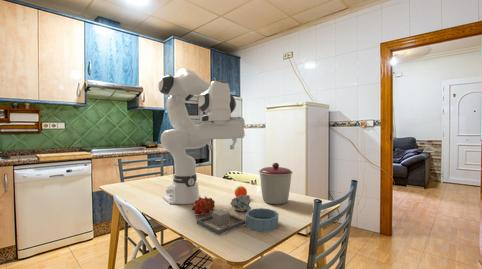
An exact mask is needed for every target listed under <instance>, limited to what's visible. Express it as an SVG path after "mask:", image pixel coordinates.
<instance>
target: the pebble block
mask: <svg viewBox="0 0 482 269" xmlns="http://www.w3.org/2000/svg"><path fill="white" fill-rule="evenodd" d="M230 214H231V213H230V211H228V210H227V211H226V210H224V209H219V210H214V211H212V215H213V219H212V225H214V226H216V227H218V228H219V229H221V228H224V227H227V226H229V225H231V224H230V220H231V219H230Z"/></svg>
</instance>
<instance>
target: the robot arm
mask: <svg viewBox="0 0 482 269" xmlns="http://www.w3.org/2000/svg"><path fill="white" fill-rule="evenodd" d="M157 84H158V91H159V92H160V93H161V94H163V95H166V96H167V95H168V96H169V97H168V98H167V99H166V111H167V112H166V114H167V115H168V119H169V123H170V126H171V127H173V128H172V129H166V130H164V131H163V132H162V133H161V135H160V144H161V146H162V147H163V148H164V149H165V150H167V151H168V153H169V154H170V155H171V156H172V159H173V163H174V164H173V165H174V174H173V175H172V178H173V179H172V182H171V183H170V184H169V185H168V186H167V188H166V190H165V192H166V194H163V195H162V198H163V199H164V200H165V202H167V203H168V204H169V205H188V204H193V203H194V204H195V201H197V200H199V198H201V195H200V194H199V193H200V192H199V184H198V182H197V180H198V179H197V178H198V175H197V172H196V170H197V167H196V166H197V165H196V164H197V163H196V160H195V158H194V157H193V156H191V155H189V154H187V152H186V150H191V149H192V150H194V149H201V148H204V147H206V145H207V146H208V150H209V151H213V150H214V146H213V145H212V144H211V140H229V139H230V140H231V139H232V140H231V141H232V144H230V145H229V150H235V145H236V143H237V142H238V141H237V140H238V139H244V138H245V136H246V134H245V129H244V126H245V119H244V118H243V117H241V116H232V113H233V112H234V111H235V110H236V107H237V101H236V99H235V97H234V95H232V94H231V90H230V85H229V83H228V82H227V81H223V80H212V81H210V82H208V81H206V80H205V79H203V78H202V77H201V76H200V75H198V74H197V73H196V72H194V71H193V70H191V69H189V68H186V67H185V68H181V69H179V70H178V71H177V72H176V75H175V76H174V75H172V74H169V75H164V76H162V77H160V78H159V81H158V83H157ZM194 96H197V108H198V109H199V110H200V111H201V112H203V113H208V114H206V115H202V116H200V117H199V124H198V126H197V125H196V124H195V123H194V122H193V121H192V119H191V118H190V115H189V112H188V109H187V107H186V104H185V101H186V102H189V101H190V100H191V99H192V98H193V97H194Z"/></svg>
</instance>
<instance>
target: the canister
mask: <svg viewBox="0 0 482 269" xmlns="http://www.w3.org/2000/svg"><path fill="white" fill-rule="evenodd" d="M258 173H259V178H260V188H261V196H262V199H263V201H264V202H265V203H267V204H270V205H276V206H277V205H283V204H285V203H287V202H288V201H289V200H288V199H289V197H290V190H291V182H292V175H293V173H294V172H293V171H292V170H291V169H289V168H287V167H280V164H279V163H278V162H273V163H272V166H267V167H263V168H261V169H259V170H258Z"/></svg>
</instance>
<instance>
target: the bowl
mask: <svg viewBox="0 0 482 269" xmlns="http://www.w3.org/2000/svg"><path fill="white" fill-rule="evenodd" d="M245 220H246V224H245V225H246V227H247V228H248V229H250V230H252V231H256V232H272V231H274V230H276V229H278V227H279V213H278V212H277V211H276V210H273V209H270V208H262V207H260V208H251V209H250V210H249V211H247V210H246V213H245Z"/></svg>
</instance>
